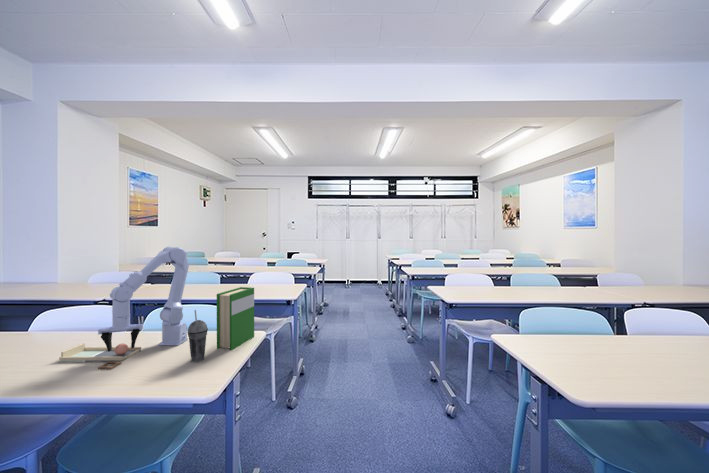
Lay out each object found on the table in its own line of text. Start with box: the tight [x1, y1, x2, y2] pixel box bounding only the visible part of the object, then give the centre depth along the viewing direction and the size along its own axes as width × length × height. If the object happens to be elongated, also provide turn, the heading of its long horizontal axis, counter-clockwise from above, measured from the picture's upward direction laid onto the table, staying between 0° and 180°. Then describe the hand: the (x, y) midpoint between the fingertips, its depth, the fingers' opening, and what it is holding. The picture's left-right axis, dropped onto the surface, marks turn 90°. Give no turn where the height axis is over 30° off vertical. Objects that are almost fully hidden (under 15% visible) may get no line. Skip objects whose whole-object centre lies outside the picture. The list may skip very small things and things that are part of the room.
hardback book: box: [216, 286, 255, 351], centre depth 138 cm, size 18×7×24 cm, turn 167°
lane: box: [58, 343, 142, 363], centre depth 122 cm, size 24×11×4 cm, turn 90°
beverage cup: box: [187, 309, 209, 363], centre depth 119 cm, size 7×7×20 cm
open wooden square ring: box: [97, 361, 123, 370], centre depth 113 cm, size 5×5×1 cm
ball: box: [115, 343, 129, 355], centre depth 122 cm, size 4×4×4 cm
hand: (121, 349), depth 122 cm, fingers open, 7 cm apart
